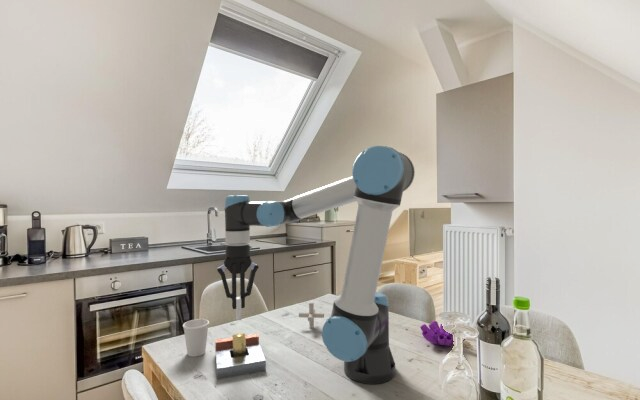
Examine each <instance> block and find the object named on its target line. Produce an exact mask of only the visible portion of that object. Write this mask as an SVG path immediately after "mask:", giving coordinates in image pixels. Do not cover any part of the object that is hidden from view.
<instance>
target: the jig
mask: <svg viewBox="0 0 640 400" xmlns="http://www.w3.org/2000/svg"><path fill="white" fill-rule="evenodd" d="M245 337H246V356H241V357H235V358H233V338H232V337H227V338H226V337H225V338H219V339H215V341H214V342H215V343H214V344H215V346H214V348H215V366H216V367H215V369H216V379H217V380H221V379H225V378H232V377H238V376H242V375H248V374H253V373H259V372H264V371H267V366H266V365H267V363H266V362H267V361H266V358H265V355H264V353H263V350H262V347H261V344H260V337H259V334H258V333H253V334H247V335H246V334H245Z"/></svg>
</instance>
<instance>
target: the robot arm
mask: <svg viewBox="0 0 640 400" xmlns="http://www.w3.org/2000/svg"><path fill="white" fill-rule="evenodd" d="M415 173H416V172H415V166H414V163H413V162H412V160H411V159H410V158H409V157H408V156H407V155H405V154H404V153H402V152H399V151H398V150H397V149H395V148H393V147H391V146H386V145H385V146H384V145H373V146H370V147H367V148H366V149H364V150H363V151H362V152H360V153H359V155H357V156H356V159H355V161H354V162H353V165H352V174H351V175H352V176H349V177H346V178H343V179H340V180H338V181H335V182H333V183H330V184H327V185H325V186H321V187H319V188H316V189H313V190H310V191H307V192H305V193H302V194H300V195H296V196H294V197H292V198H289V199H286V200H276V201H275V200H265V201H264V200H263V201H260V200H259V201H250V197H249V195H247V194H246V195H239V194H238V195H235V194H234V195H227V196H226V197H225V198H224V199H225V201H224V203H225V204H224V215H225V216H224V219H225V220H224V221H225V222H224V224H225V226H224V227H225V232H224V233H225V234H224V235H225V236H224V237H225V238H224V241H225V244H226V245H225V260H224V261H223V264H222V265H220V266H217V267H216V270H217V273H218V274H219V275H220V277H221V280H222V281H221V282H222V284H223V285H222V286H223V288H224V293H225V296H226V298H227V299H231V306H232V307H231V308H232V309H233V310H235V320H236V321H242V309H245V307H246V303H245V302H246V300H245V299H246V297H248V296H251V294H252V289H253V285H254V281H255V276H256V273H257V271H258V269H259V268H260V267H259V265H258V264H257V263H254V262H253V261H252V259H251V245H250V244H249V243H250V242H251V239H250V238H251V236H250V235H251V233H250V232H251V231H250V230H251V229H250V228H251V227H250V226H252V227H253V226H255V227H256V226H257V227H265V228H266V227H267V228H271V227H272V228H273V227H278V226H279V225H284V224H294V223H297V222H299V221H300V220H303V219H305V218H309V217H311V216H313V215H318V214H320V213H323V212H327V211H329V210H333V209H336V208H339V207H343V206H345V205H348V204H353V203H357V204H358V207H357V211H356V216H355V223H354V226H353V233H352V236H351V237H352V239H351V243H350V246H349V247H350V248H349V252H348V258H347V263H346V268H345V273H344V279H343V283H342V289H341V293H339V294H338V295H337V296H335V297H334V300H333V305H332V310H331V315H330V317H328V318H327V319H326V321H325V322H324V324H323V326H322V329H321V338H322V342H323V344H324V345H323V346H325V347H326V348H327V351H328V352H329V353H330V355H332V356H333V357H334V358H336V359H337V360H339V361H342V362H343V371H344V374H345V376H347V377H348V378H350V379H351V380H353V381H356V382H359V383H362V384H369V385H370V384H371V385H377V384H383V383H386V382H389V381H391V380H392V379H393V378H394V377H395V376H396V363H395V360H394V357H393V352H392V350H391V347H390V333H389V332H390V328H389V327H390V325H389V324H390V321H389V319H390V318H389V317H390V316H389V315H390V314H389V312H390V311H389V308H390V305H389V298H388V296H387V295H386V294H384V293H382V292H377V289H378V284H379V278H380V274H381V268H382V264H383V260H384V255H385V248H386V246H387V245H386V244H387V240H388V234H389V230H390V225H391V220H392V215H393V212H394V211H395V210H396V209H397V208H399V207H400V206H401V204H402V203H401V202H402V198H403V193H404V192H405V191H407V190H408V189H409V188H410V186H411V185H412V184H413V181H414V179H415ZM249 267H250V273H249V277H248V281H247V286H245V285H246V283H245V282H246V279H245V277H246V276H245V275H246V272H247V271H248V269H249ZM226 269H227V270H228V272H229V273H231V292H230V289H229V285H228V281H227V278H226V273H225V272H226ZM238 274H239V292H240V293H239V296H237V275H238Z"/></svg>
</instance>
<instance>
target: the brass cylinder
mask: <svg viewBox="0 0 640 400" xmlns="http://www.w3.org/2000/svg"><path fill="white" fill-rule="evenodd" d="M245 336H246V333H244V332H238V333H234V334H232V337H231V338H233V358H235V357H241V356H246V337H245Z"/></svg>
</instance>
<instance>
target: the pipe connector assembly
mask: <svg viewBox="0 0 640 400" xmlns="http://www.w3.org/2000/svg"><path fill="white" fill-rule="evenodd" d="M442 324H443V323H440V324H439V322H438V321H436V320H433V321H431V322H430V323H429V324H428V325H427V324H426V323H424V324H422V325H421V326H420V327H419V328H420V330H421V335H422V337H423V338H424V339H425V341H427V342H429V343H431V344H434V345H440V346H454V345H453V342H454V341H453V335H452V334H450V333H448V332H446V331H445V330H444V329H443V326H442ZM465 340H466V339H464V340H463V342H465ZM463 342H462V343H463Z"/></svg>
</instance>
